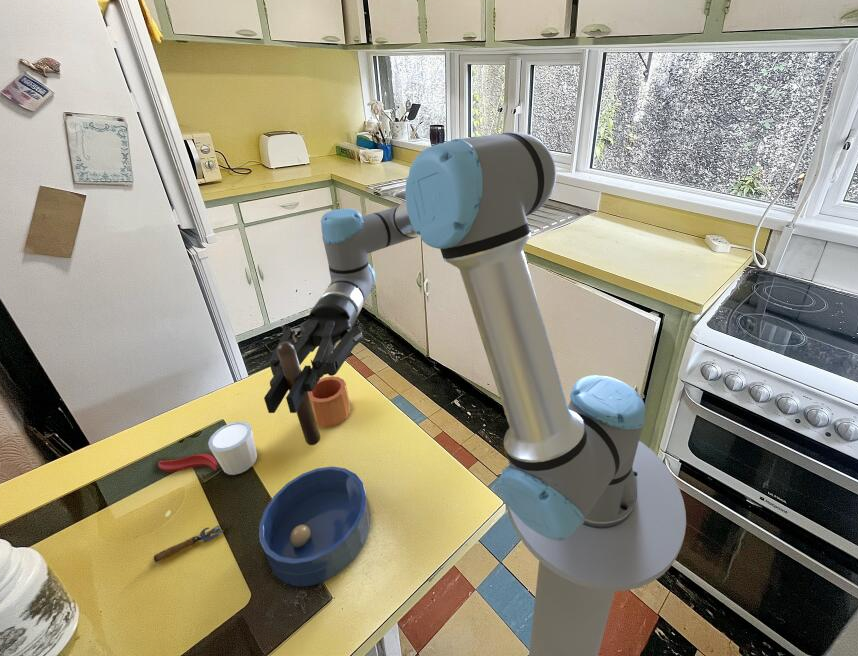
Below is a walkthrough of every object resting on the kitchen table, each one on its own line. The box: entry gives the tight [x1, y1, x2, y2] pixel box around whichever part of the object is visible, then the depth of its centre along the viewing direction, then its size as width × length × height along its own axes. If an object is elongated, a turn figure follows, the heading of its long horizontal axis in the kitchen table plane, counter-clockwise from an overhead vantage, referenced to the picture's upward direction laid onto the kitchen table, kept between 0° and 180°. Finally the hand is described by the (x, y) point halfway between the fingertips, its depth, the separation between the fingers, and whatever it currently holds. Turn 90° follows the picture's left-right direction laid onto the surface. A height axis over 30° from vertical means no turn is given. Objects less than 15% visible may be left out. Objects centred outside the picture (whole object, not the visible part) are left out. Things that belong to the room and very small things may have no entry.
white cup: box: [207, 421, 258, 476], centre depth 76 cm, size 7×7×7 cm
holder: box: [308, 375, 351, 428], centre depth 87 cm, size 8×8×7 cm
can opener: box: [153, 525, 225, 563], centre depth 64 cm, size 9×2×1 cm, turn 118°
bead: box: [290, 525, 311, 548], centre depth 64 cm, size 3×3×3 cm
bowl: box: [258, 466, 371, 587], centre depth 65 cm, size 15×15×6 cm
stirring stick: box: [276, 342, 321, 446], centre depth 61 cm, size 2×2×20 cm
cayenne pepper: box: [157, 453, 219, 473], centre depth 77 cm, size 12×5×2 cm, turn 77°
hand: (280, 405), depth 55 cm, fingers closed on stirring stick, 2 cm apart
